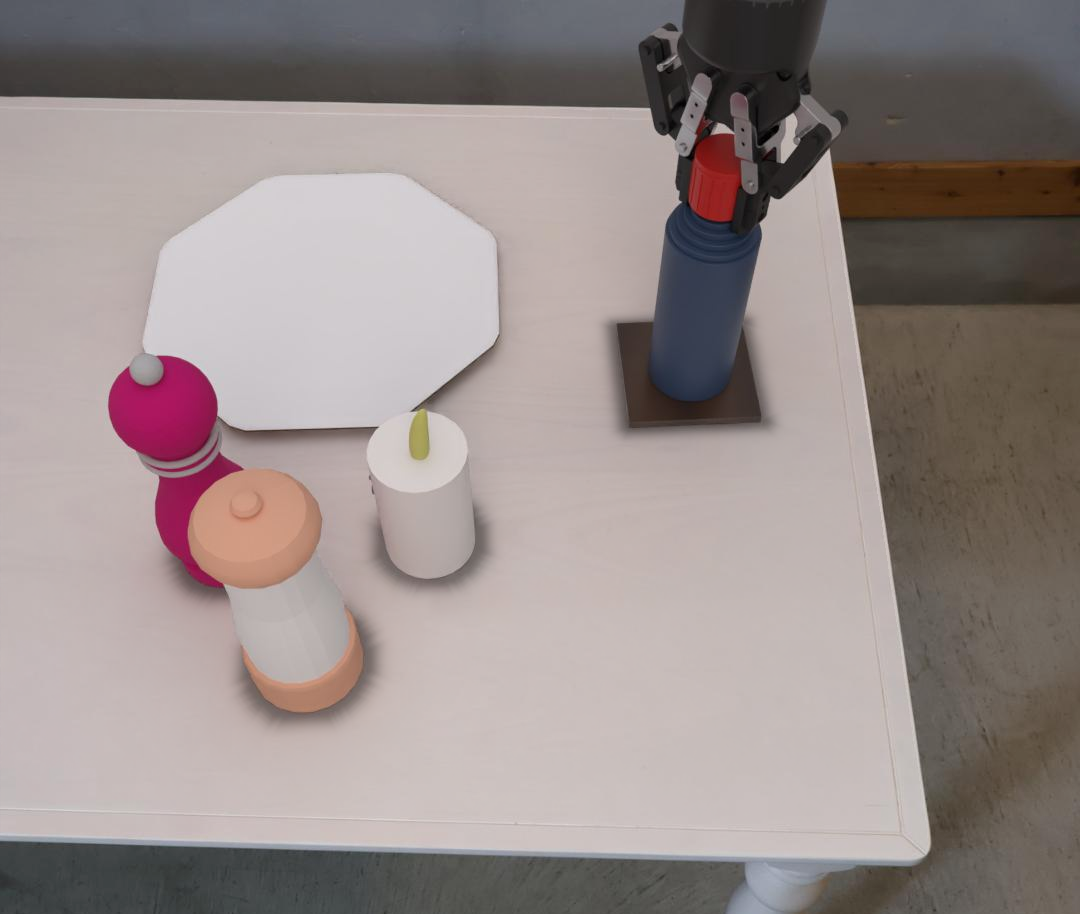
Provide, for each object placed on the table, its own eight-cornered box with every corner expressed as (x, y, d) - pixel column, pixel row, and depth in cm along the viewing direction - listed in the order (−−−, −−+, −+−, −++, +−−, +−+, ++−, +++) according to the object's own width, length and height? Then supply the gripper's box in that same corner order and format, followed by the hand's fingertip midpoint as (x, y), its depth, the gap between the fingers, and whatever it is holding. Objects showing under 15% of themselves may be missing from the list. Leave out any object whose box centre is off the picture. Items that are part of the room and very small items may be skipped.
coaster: (740, 322, 89) (741, 317, 88) (760, 421, 83) (762, 417, 83) (615, 328, 88) (616, 322, 88) (628, 428, 83) (629, 423, 83)
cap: (692, 223, 70) (700, 176, 67) (683, 181, 72) (690, 134, 69) (754, 220, 70) (764, 173, 67) (743, 178, 72) (753, 131, 69)
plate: (129, 445, 82) (123, 432, 81) (178, 190, 96) (173, 176, 95) (502, 434, 83) (501, 421, 81) (494, 182, 97) (494, 169, 96)
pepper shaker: (326, 731, 70) (263, 582, 54) (230, 684, 72) (141, 526, 56) (384, 639, 74) (342, 472, 57) (291, 596, 75) (225, 422, 59)
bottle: (724, 336, 87) (768, 127, 71) (737, 400, 84) (785, 196, 67) (643, 339, 87) (668, 130, 70) (652, 403, 84) (680, 200, 67)
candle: (400, 493, 80) (374, 354, 67) (486, 513, 79) (477, 376, 66) (369, 565, 77) (337, 434, 64) (459, 588, 76) (444, 459, 63)
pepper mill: (159, 536, 78) (54, 344, 61) (252, 489, 80) (176, 291, 63) (202, 612, 75) (103, 432, 58) (298, 562, 77) (231, 373, 60)
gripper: (919, -24, 57) (841, 233, 71) (699, -124, 61) (668, 136, 76) (837, 43, 54) (772, 296, 68) (612, -67, 59) (597, 191, 73)
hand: (717, 210), depth 72 cm, fingers closed on cap, 3 cm apart
